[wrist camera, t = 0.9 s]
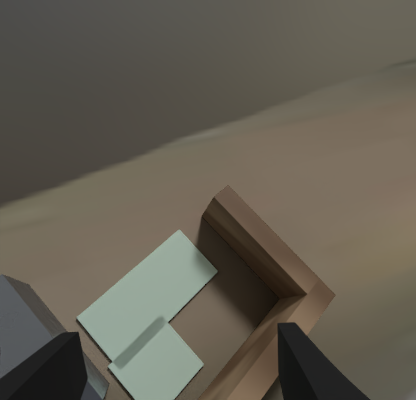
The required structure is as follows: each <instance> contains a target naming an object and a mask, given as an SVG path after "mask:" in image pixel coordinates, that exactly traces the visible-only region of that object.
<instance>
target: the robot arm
mask: <svg viewBox="0 0 416 400" xmlns="http://www.w3.org/2000/svg"><path fill="white" fill-rule="evenodd" d="M277 332H278V373H279V378H280V383H281V388H282V393H283V398H284V400H370V399H369V398H368V397H367V396H366V395H364V394H363V393H362V392H361V391H360V390H359V389H358V388H357V387H356V386H355V385H354V384H352V383H351V382H350V381H349V380H348V379H347V378H346V377H345V376H344V375H343V374H342V373H341V372H340V371H339V370H338V369H337V368H336V367H335V366H334V365H333V364H332V363H331V362H330V361H329V360H328V359H327V358H326V357H325V355H324V354H323V353H322V352H321V351H320V350H319V349H318V348H317V347H316V346H315V344H314V343H313V342H312V341H311V340H310V339H309V338H308V336H307V335H306V334H305V333H304V332H303V331H302V329H301V328H300V327H299V326H298V325H297V324H296V323H295V322H286V323H277ZM87 380H88V376H87V371H86V366H85V361H84V356H83V352H82V347H81V342H80V337H79V332H64V333H61V334H59V335H58V336H56V337H55V338H54V339H52V340H51V341H49V342H48V343H47V344H45V345H44V346H43V347H41V348H40V349H39V350H37V351H36V352H35V353H34V354H32V355H31V356H30V357H28V358H27V359H26V360H24V361H23V362H22V363H20V364H19V365H18V366H16V367H15V368H14V369H12V370H11V371H10V372H8V373H7V374H6V375H4V376H3V377H2V378H0V400H81V397H82V395H83V392H84V389H85V386H86V383H87Z"/></svg>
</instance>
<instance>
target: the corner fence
mask: <svg viewBox="0 0 416 400" xmlns="http://www.w3.org/2000/svg"><path fill="white" fill-rule="evenodd" d="M202 217H203V218H204V219H205V220H206V221H207V222H208V223H209V224H210V225H211V227H212V228H213V229H214V230H215V231H216V232H217V233H218V234H219V235H220V236H221V237H222V238H223V239H224V240H225V241H226V242H227V243H228V245H229V246H230V247H231V248H232V249H233V250H234V251H235V252H236V253H237V254H238V255H239V256H240V257H241V258H242V259H243V260H244V261H245V263H246V264H247V265H248V266H249V267H250V268H251V269H252V270H253V271H254V272H255V273H256V274H257V275H258V276H259V277H260V278H261V280H262V281H263V282H264V283H265V284H266V285H267V286H268V287H269V288H270V289H271V290H272V291H273V292H274V293H275V294H276V295H277V296H278V298H279V300H278V302H277V303H276V304H275V305H274V307H273V308H272V309H271V310H270V312H269V313H268V314H267V315H266V316H265V318H264V319H263V320H262V321H261V323H260V324H259V325H258V326H257V327H256V329H255V330H254V331H253V332H252V334H251V335H250V336H249V337H248V339H247V340H246V341H245V342H244V343H243V345H242V346H241V347H240V348H239V350H238V351H237V352H236V353H235V354H234V356H233V357H232V358H231V359H230V361H229V362H228V363H227V364H226V366H225V367H224V368H223V369H222V370H221V372H220V373H219V374H218V375H217V377H216V378H215V379H214V380H213V381H212V383H211V384H210V385H209V386H208V388H207V389H206V390H205V391H204V392H203V394H202V395H201V396H200V397H199V399H198V400H261V399H262V398H263V396H264V395H265V393H266V392H267V391H268V389H269V388H270V386H271V385H272V384H273V382H274V381H275V379H276V378H277V377H278V375H279V373H278V332H277V323H286V322H295V323H296V324H297V325H298V326H299V327H300V328H301V329H302V331H303V332H304V333H305V334H306V335H308V333H309V332H310V330H311V329H312V328H313V326H314V325H315V323H316V322H317V321H318V319H319V318H320V316H321V315H322V314H323V312H324V311H325V309H326V308H327V307H328V305H329V304H330V302H331V301H332V300H333V298H334V297H335V294H334V293H333V292H332V291H331V290H330V289H329V288H328V287H327V286H326V285H325V283H324V282H323V281H322V280H321V279H320V278H319V277H318V276H317V275H316V274H315V273H314V272H313V271H312V270H311V269H310V268H309V267H308V266H307V265H306V264H305V263H304V262H303V261H302V260H301V259H300V258H299V257H298V256H297V255H296V254H295V253H294V252H293V251H292V250H291V249H290V248H289V247H288V246H287V245H286V244H285V243H284V242H283V241H282V240H281V238H280V237H279V236H278V235H277V234H276V233H275V232H274V231H273V230H272V229H271V228H270V227H269V226H268V225H267V224H266V223H265V222H264V221H263V220H262V219H261V218H260V217H259V216H258V215H257V214H256V213H255V212H254V211H253V210H252V209H251V208H250V207H249V206H248V205H247V204H246V203H245V202H244V201H243V200H242V199H241V198H240V197H239V196H238V194H237V193H236V192H235V191H234V190H233V189H232V188H231V187H230V186H229V185H227V186H226V187H225V188H224V189H223V190H221V191H220V192H219V193H218V194H217V195H216V196H214V198H213V199H212V201H211V202H210V204H209V205H208V207H207V209H206V210H205V212H204V213H203V215H202Z"/></svg>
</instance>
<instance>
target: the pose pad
mask: <svg viewBox="0 0 416 400" xmlns="http://www.w3.org/2000/svg"><path fill="white" fill-rule="evenodd" d="M217 272H218V271H217V270H216V269H215V267H214V266H213V265H212V264H211V263H210V262H209V261H208V260H207V259H206V258H205V257H204V256H203V254H202V253H201V252H200V251H199V250H198V249H197V248H196V247H195V246H194V245H193V244H192V243H191V241H190V240H189V239H188V238H187V237H186V236H185V235H184V234H183V233H182V232H181V231H180V230H178V231H177V232H175V233H174V234H173V235H172V236H171V237H170V238H168V239H167V240H166V241H165V242H164V243H163V244H162V245H160V246H159V247H158V248H157V249H156V250H155V251H153V252H152V253H151V254H150V255H149V256H148V257H146V258H145V259H144V260H143V261H142V262H141V263H139V264H138V265H137V266H136V267H135V268H134V269H132V270H131V271H130V272H129V273H128V274H127V275H125V276H124V277H123V278H122V279H121V280H120V281H119V282H117V283H116V284H115V285H114V286H113V287H112V288H110V289H109V290H108V291H107V292H106V293H105V294H103V295H102V296H101V297H100V298H99V299H98V300H96V301H95V302H94V303H93V304H92V305H91V306H89V307H88V308H87V309H86V310H85V311H84V312H82V313H81V314H80V315H79V316H78V317H77V319H78V320H79V321H80V323H81V324H82V325H83V326H84V328H85V329H86V330H87V331H88V332H89V334H90V335H91V336H92V337H93V338H94V340H95V341H96V342H97V343H98V345H99V346H100V347H101V348H102V349H103V351H104V352H105V353H106V354H107V355H108V357H109V358H110V359H111V360H112V363H111V364H110V365H109V366H108V367H109V368H110V370H111V371H112V372H113V373H114V375H115V376H116V377H117V378H118V379H119V381H120V382H121V383H122V384H123V386H124V387H125V388H126V389H127V390H128V392H129V393H130V394H131V395H132V397H133V398H134V399H135V400H174V399H175V398H176V396H177V395H178V394H179V393H180V392H181V391H182V389H183V388H184V387H185V386H186V385H187V384H188V382H189V381H190V380H191V379H192V378H193V377H194V375H195V374H196V373H197V372H198V371H199V370H200V368H201V367H202V366H203V365H204V364H203V363H202V361H201V360H200V359H199V358H198V357H197V356H196V354H195V353H194V352H193V351H192V350H191V349H190V348H189V346H188V345H187V344H186V343H185V342H184V341H183V340H182V338H181V337H180V336H179V335H178V334H177V333H176V332H175V330H174V329H173V328H172V327H171V326H170V325H169V323H168V322H169V321H170V320H171V319H172V318H173V317H174V316H175V315H176V314H177V313H178V312H179V311H180V310H181V309H182V308H183V306H184V305H185V304H186V303H187V302H188V301H189V300H190V299H191V298H192V297H193V296H194V295H195V294H196V293H197V292H198V291H199V290H200V289H201V288H202V287H203V286H204V285H205V284H206V283H207V282H208V281H209V280H210V279H211V278H212V277H213V276H214V275H215V274H216V273H217Z"/></svg>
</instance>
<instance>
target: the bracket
mask: <svg viewBox="0 0 416 400" xmlns="http://www.w3.org/2000/svg"><path fill="white" fill-rule="evenodd" d="M64 332H67V331H66V329H65V328H64V327H63V326H62V325H61V323H60V322H59V321H58V320H57V318H56V317H55V316H54V315H53V313H52V312H51V311H50V310H49V309H48V307H47V306H46V305H45V304H44V302H43V301H42V300H41V299H40V297H39V296H38V295H37V294H36V293H35V291H34V290H33V289H32V288H31V286H30V285H29V284H26V283H23V282H21V281H18V280H16V279H13V278H11V277H8V276H6V275H3V274H2V275H0V378H2V377H3V376H4V375H6V374H7V373H8V372H10V371H11V370H12V369H14V368H15V367H16V366H18V365H19V364H20V363H22V362H23V361H24V360H26V359H27V358H28V357H30V356H31V355H32V354H34V353H35V352H36V351H37V350H39V349H40V348H41V347H43V346H44V345H45V344H47V343H48V342H49V341H51V340H52V339H54V338H55V337H56V336H58V335H59V334H61V333H64ZM82 352H83V350H82ZM83 356H84V361H85V366H86V371H87V376H88V380H87V383H86V386H85V389H84V392H83V395H82V397H81V400H103V398H104V396H105V393H106V391H107V388H108V386H109V382H108V381H107V380H106V379H105V378H104V376H103V375H102V374H101V373H100V371H99V370H98V369H97V368H96V366H95V365H94V364H93V363H92V362H91V360H90V359H89V358H88V357H87V355H86V354H85V353H84V352H83Z"/></svg>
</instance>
